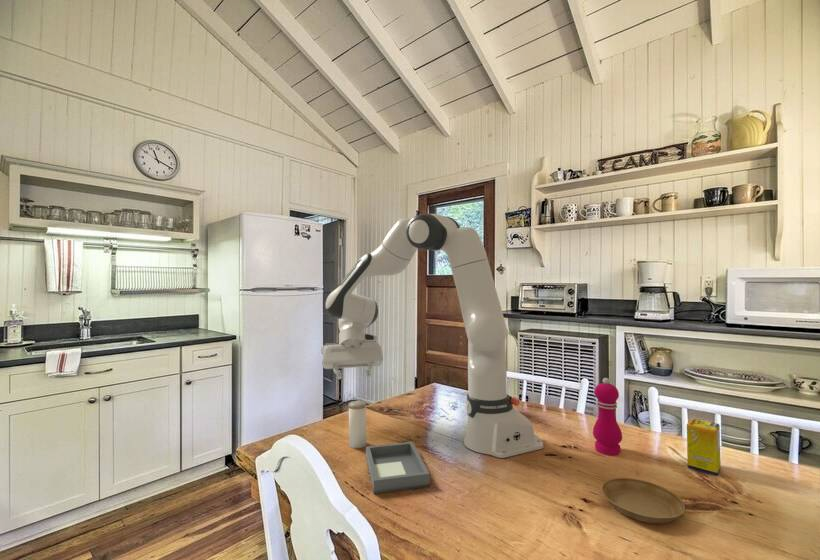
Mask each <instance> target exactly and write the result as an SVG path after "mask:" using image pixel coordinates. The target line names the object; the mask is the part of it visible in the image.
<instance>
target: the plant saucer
mask: <svg viewBox="0 0 820 560" xmlns="http://www.w3.org/2000/svg"><path fill="white" fill-rule="evenodd" d="M600 490H601V493H602V495H603V496H604V497H605V499H606V500H607V501H608V502H609V503H610V505H611V506H613V508H615V509H616V510H617V511H618V512H620V513H621V514H622V515H624V516H626V517H627V518H630V519H633V520H636V521H638V522H642V523H647V524H655V525H657V524H658V525H661V524H667V523H670V522H672V521H675V520H676V519H678V518H679V517H681V516H682V514H684V512H685V510H686V506H685V503H684V501H682V499H681V498H680V497H679V496H678V495H676V494H675V493H674V492H672V491H670V490H669V489H667V488H665V487H663V486H661V485H658V484H656V483H653V482H649V481H647V480H642V479H638V478H631V477H615V478H610V479H608V480H605V481H604V482H603V483H602V484H601V488H600Z"/></svg>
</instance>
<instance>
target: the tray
mask: <svg viewBox="0 0 820 560" xmlns="http://www.w3.org/2000/svg"><path fill="white" fill-rule="evenodd" d="M365 459H366V460H365V461H366V464H367V468H368V474H369V478H370V483H371V487H372V493H373V494H374V495H377V494H385V493H391V492H393V493H394V492H399V491H400V492H401V491H407V490H414V489H423V488H428V487H430V485H431V483H430V479H431V477H430V475H431V473H430V472H429V470H428V468H427V466H426V463H424V460H423V458H422V457H421V455H420V453H419V451H418V449H417V447H416V445H415V443H414V441H406V442H397V443H388V444H380V445H369V446H365Z"/></svg>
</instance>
